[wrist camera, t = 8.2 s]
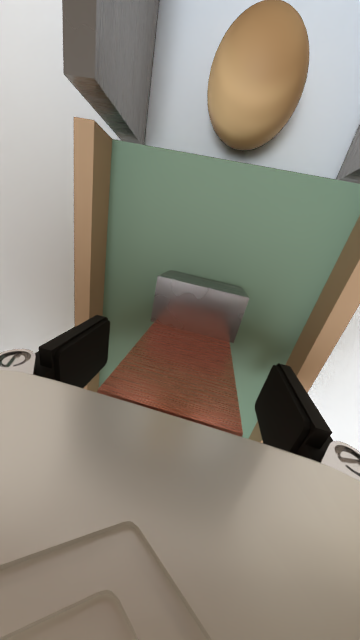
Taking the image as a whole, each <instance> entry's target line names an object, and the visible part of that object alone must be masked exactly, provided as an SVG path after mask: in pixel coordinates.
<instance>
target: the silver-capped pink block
mask: <svg viewBox="0 0 360 640" xmlns="http://www.w3.org/2000/svg"><path fill="white" fill-rule="evenodd" d="M248 301H249V297H248V295H247V294H246V292H245V291H244V289H243V288H242V287H241V286H236V285H232V284H228V283H224V282H220V281H215V280H211V279H207V278H203V277H198V276H194V275H190V274H186V273H182V272H177V271H173V270H169V271H167V272H165V273H163V274H161V275H158V277H157V283H156V290H155V296H154V302H153V308H152V315H151V322H154V323H153V324H152V325H151V327H150V328H149V329H148V330H147V331H146V333H145V334H144V335H143V336H142V337H141V338H140V340H139V341H138V342H137V343H136V344H135V346H134V347H133V348H132V349H131V350H130V352H129V353H128V354H127V355H126V356H125V358H124V359H123V360H122V361H121V362H120V364H119V365H118V366H117V367H116V368H115V370H114V371H113V372H112V373H111V374H110V376H109V377H108V378H107V379H106V380H105V381H104V383H103V384H102V385H101V386H100V387H99V389H98V390H97V393H100V394H103V395H107V396H110V397H113V398H117V399H120V400H123V401H126V402H130V403H133V404H136V405H140V406H143V407H146V408H150V409H153V410H156V411H159V412H163V413H166V414H169V415H173V416H176V417H179V418H182V419H186V420H189V421H192V422H195V423H199V424H202V425H205V426H208V427H212V428H215V429H218V430H221V431H225V432H228V433H231V434H234V435H237V436H241V437H242V435H243V430H242V423H241V416H240V410H239V403H238V396H237V389H236V382H235V376H234V369H233V362H232V355H231V348H230V342H231V343H234V340H235V338H236V335H237V332H238V329H239V326H240V324H241V321H242V318H243V315H244V312H245V309H246V307H247V304H248Z"/></svg>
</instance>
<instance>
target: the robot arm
mask: <svg viewBox="0 0 360 640" xmlns="http://www.w3.org/2000/svg"><path fill="white" fill-rule="evenodd" d="M109 334H110V321H109V320H108V318H107V317H104V316H100V315H95V316H94V317H92V318H90V319H88V320H86V321H85V322H83V323H81V324H79V325H77V326H76V327H74V328H72V329H70V330H68V331H67V332H65V333H63V334H61V335H59V336H58V337H56V338H54V339H52V340H50V341H49V342H47V343H45V344H43V345H41V346H40V347H39V352H37V353H34V352H33V351H31V350H27V349H13V350H8V351H4V352H1V353H0V640H360V452H359V451H358V450H357V449H355V448H353V447H352V446H350V445H348V444H346V443H343V442H340V441H333V440H332V438H331V437H330V435H331V433H332V431H331V430H330V428H329V427H328V425H327V424H326V422H325V420H324V419H323V417H322V416H321V414H320V413H319V411H318V409H317V408H316V406H315V405H314V403H313V401H312V400H311V398H310V397H309V395H308V394H307V392H306V390H305V389H304V387H303V386H302V384H301V382H300V381H299V379H298V378H297V376H296V375H295V373H294V371H293V370H292V368H291V367H290V366H287V365H283V364H279V363H278V364H277V365H273V366H272V368H271V370H270V372H269V374H268V376H267V379H266V381H265V383H264V385H263V387H262V389H261V391H260V394H259V396H258V398H257V400H256V402H255V412H256V416H257V420H258V424H259V428H260V432H261V437H262V441H263V443H260V442H257V441H253V440H250V439H247V438H244V437H241V436H237V435H234V434H231V433H228V432H225V431H221V430H218V429H215V428H212V427H208V426H205V425H202V424H199V423H195V422H192V421H189V420H186V419H182V418H179V417H176V416H173V415H169V414H166V413H163V412H159V411H156V410H153V409H150V408H146V407H143V406H140V405H136V404H133V403H130V402H126V401H123V400H120V399H117V398H113V397H110V396H107V395H103V394H100V393H96V392H93V391H90V390H86V389H83V388H84V387H85V386H86V385H87V384H88V383H89V382H90V381H91V380H92V379H93V378H94V377H95V376H96V375H97V373H98V372H99V371H100V370H101V369H102V368H103V367H104V366H105V365H106V363H107V360H108V348H109Z"/></svg>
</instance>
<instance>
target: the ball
mask: <svg viewBox="0 0 360 640" xmlns="http://www.w3.org/2000/svg"><path fill="white" fill-rule="evenodd" d="M308 66H309V41H308V35H307V31H306V27H305V25H304V22H303V20H302V18H301V16H300V15H299V13H298V12H297V11H296V10H295V9H294V8H293V7H292V6H291V5H290V4H288V3H286V2H284V1H281V0H264V1H261V2H259V3H256V4H254V5H253V6H251V7H249V8H248V9H246V10H245V11H244V12H243V13H242V14H241V15H240V16H239V17H238V18H237V19H236V20H235V21H234V22H233V23H232V25H231V26H230V28H229V29H228V30H227V32H226V33H225V35H224V37H223V39H222V41H221V43H220V45H219V47H218V49H217V51H216V54H215V57H214V60H213V63H212V66H211V71H210V76H209V81H208V92H207V98H208V111H209V116H210V120H211V123H212V126H213V128H214V130H215V132H216V134H217V135H218V137H219V138H220V139H221V140H222V141H223V142H224V143H225V144H226V145H228V146H229V147H232V148H234V149H237V150H251V149H254V148H257V147H260V146H262V145H263V144H265V143H267V142H268V141H270V140H271V139H272V138H273V137H274V136H275V135H277V134H278V133H279V132H280V130H281V129H282V128H283V127H284V126H285V124H286V123H287V122H288V120H289V119H290V117H291V116H292V114H293V112H294V110H295V108H296V106H297V105H298V102H299V100H300V97H301V95H302V92H303V89H304V85H305V82H306V78H307V72H308Z"/></svg>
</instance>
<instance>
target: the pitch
mask: <svg viewBox="0 0 360 640" xmlns="http://www.w3.org/2000/svg"><path fill="white" fill-rule="evenodd" d="M169 270H173V271H177V272H182V273H186V274H190V275H194V276H198V277H203V278H207V279H211V280H215V281H220V282H224V283H228V284H232V285H236V286H241V287H242V288H243V289H244V291H245V292H246V294H247V295H248V297H249V301H248V304H247V307H246V309H245V312H244V315H243V318H242V321H241V324H240V326H239V329H238V332H237V335H236V338H235V340H234V343H231V342H230V348H231V355H232V362H233V369H234V376H235V382H236V389H237V396H238V403H239V410H240V416H241V423H242V430H243V435H242V437H244V438H247V439H250V440H253V441H257V442H260V443H263V441H262V437H261V432H260V428H259V424H258V420H257V416H256V412H255V402H256V400H257V398H258V396H259V394H260V391H261V389H262V387H263V385H264V383H265V381H266V379H267V376H268V374H269V372H270V370H271V368H272V366H273V365H277V364H278V363H279V364H283V365H287V366H290V367H291V368H292V370H293V371H294V373H295V375H296V376H297V378H298V379H299V381H300V382H301V384H302V386H303V387H304V389H305V390H306V392H307V393H308V391H309V389H310V388H311V386H312V384H313V383H314V381H315V379H316V377H317V376H318V374H319V372H320V371H321V369H322V367H323V366H324V364H325V362H326V360H327V359H328V357H329V355H330V354H331V352H332V350H333V349H334V347H335V345H336V344H337V342H338V340H339V338H340V337H341V335H342V333H343V332H344V330H345V328H346V327H347V325H348V323H349V321H350V320H351V318H352V316H353V315H354V313H355V311H356V310H357V308H358V306H359V304H360V184H358V183H352V182H347V181H341V180H336V179H330V178H324V177H319V176H313V175H308V174H302V173H297V172H291V171H286V170H280V169H275V168H269V167H264V166H258V165H252V164H247V163H241V162H236V161H230V160H225V159H219V158H214V157H208V156H203V155H197V154H191V153H186V152H180V151H175V150H169V149H164V148H158V147H153V146H147V145H142V144H136V143H131V142H125V141H119V140H114V139H112V138H111V137H110V136H109V135H108V134H107V133H106V132H105V131H104V130H103V129H102V128H101V127H100V126H99V125H98V124H97V123H96V122H95V121H94V120H90V119H84V118H78V117H74V282H75V327H76V326H77V325H79V324H81V323H83V322H85V321H86V320H88V319H90V318H92V317H94V316H95V315H100V316H104V317H107V318H108V320H109V321H110V334H109V348H108V360H107V363H106V365H105V366H104V367H103V368H102V369H101V370H100V371H99V372H98V373H97V375H96V376H95V377H94V378H93V379H92V380H91V381H90V382H89V383H88V384H87V385H86V386H85V387H84V388H83V389H86V390H90V391H93V392H96V393H97V390H98V389H99V387H100V386H101V385H102V384H103V383H104V381H105V380H106V379H107V378H108V377H109V376H110V374H111V373H112V372H113V371H114V370H115V368H116V367H117V366H118V365H119V364H120V362H121V361H122V360H123V359H124V358H125V356H126V355H127V354H128V353H129V352H130V350H131V349H132V348H133V347H134V346H135V344H136V343H137V342H138V341H139V340H140V338H141V337H142V336H143V335H144V334H145V333H146V331H147V330H148V329H149V328H150V327H151V325H152V324H153V323H154V322H151V315H152V308H153V302H154V296H155V290H156V283H157V277H158V275H161V274H163V273H165V272H167V271H169Z"/></svg>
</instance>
